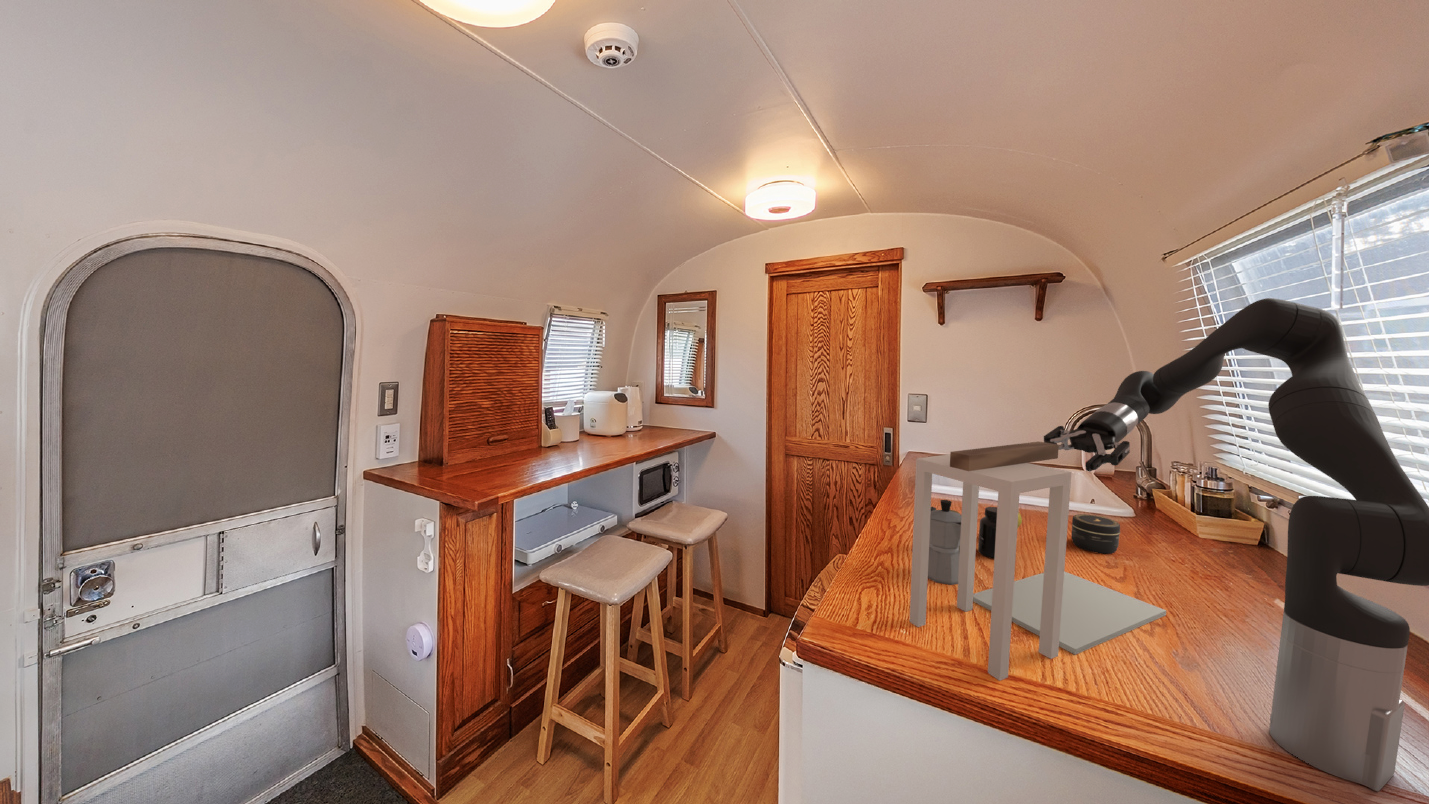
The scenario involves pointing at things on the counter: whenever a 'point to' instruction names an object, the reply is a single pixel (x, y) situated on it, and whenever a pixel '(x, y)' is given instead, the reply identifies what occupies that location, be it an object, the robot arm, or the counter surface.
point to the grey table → (1009, 488)
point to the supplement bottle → (988, 533)
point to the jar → (1095, 533)
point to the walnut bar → (1003, 455)
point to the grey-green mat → (1077, 611)
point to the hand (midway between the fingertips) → (1064, 461)
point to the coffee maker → (944, 544)
